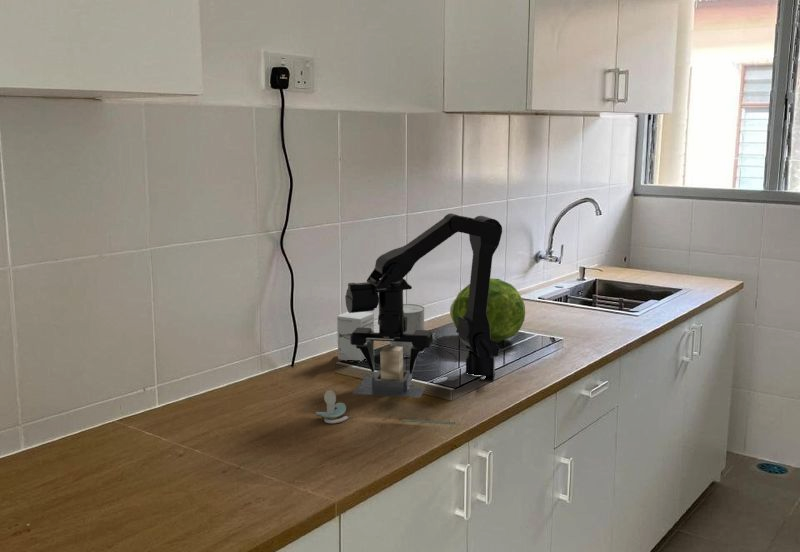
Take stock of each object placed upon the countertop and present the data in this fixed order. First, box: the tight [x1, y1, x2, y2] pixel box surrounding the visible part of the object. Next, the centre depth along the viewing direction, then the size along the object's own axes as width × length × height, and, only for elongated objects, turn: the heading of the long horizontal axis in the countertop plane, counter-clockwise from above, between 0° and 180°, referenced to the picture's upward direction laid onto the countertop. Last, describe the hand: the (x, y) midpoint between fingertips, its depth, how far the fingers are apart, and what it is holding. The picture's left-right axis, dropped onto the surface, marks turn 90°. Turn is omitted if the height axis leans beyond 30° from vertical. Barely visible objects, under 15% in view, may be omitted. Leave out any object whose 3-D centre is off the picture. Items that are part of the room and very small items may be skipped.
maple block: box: [379, 345, 404, 380], centre depth 192 cm, size 4×4×9 cm
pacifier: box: [315, 389, 350, 424], centre depth 174 cm, size 7×6×6 cm
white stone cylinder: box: [389, 303, 425, 355], centre depth 220 cm, size 10×10×12 cm
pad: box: [402, 418, 456, 426], centre depth 177 cm, size 11×11×1 cm
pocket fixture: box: [351, 369, 426, 399], centre depth 192 cm, size 16×14×3 cm
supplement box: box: [336, 310, 375, 361], centre depth 213 cm, size 7×7×13 cm
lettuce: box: [449, 277, 526, 344], centre depth 228 cm, size 19×23×18 cm
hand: (392, 372), depth 192 cm, fingers open, 9 cm apart
